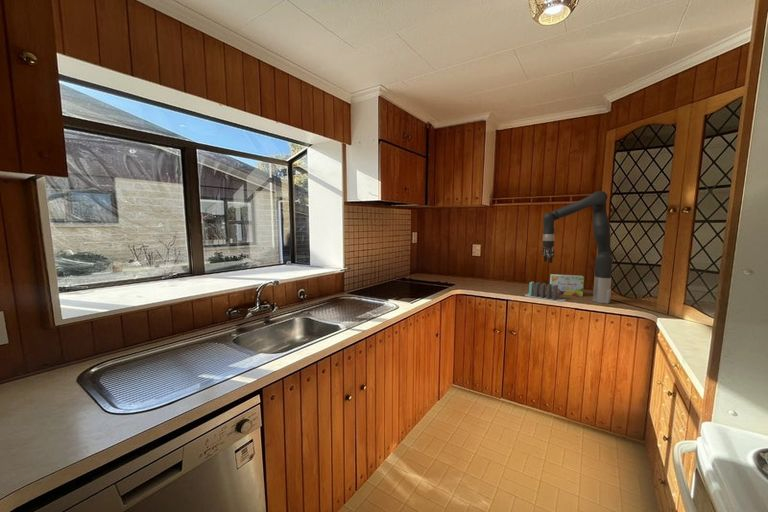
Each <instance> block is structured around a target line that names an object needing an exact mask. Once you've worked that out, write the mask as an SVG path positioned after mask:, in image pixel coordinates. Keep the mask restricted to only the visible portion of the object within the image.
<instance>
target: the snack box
mask: <svg viewBox="0 0 768 512" xmlns="http://www.w3.org/2000/svg"><path fill="white" fill-rule="evenodd" d="M549 275H550V277H549V284H552V291H551V295H553V286H554V285H558V295H559V296H570V297H583V295H584V282H585V276H583V275H576V274H575V275H574V274H557V273H556V274H554V273H550V274H549ZM558 295H557V296H558Z"/></svg>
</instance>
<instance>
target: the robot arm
mask: <svg viewBox="0 0 768 512" xmlns="http://www.w3.org/2000/svg"><path fill="white" fill-rule="evenodd" d="M607 201H608V194H607V193H606V192H605V191H602V190H597V191H594V192H593V193H592V194H590V195H588V196H586V197H584V198H582V199H580V200H578V201H577V200H576V201H575V202H572V203H569V204H567V205H566V204H565V205H564V206H562V207H559V208H558V209H555V210H553V211H550V212H546V213H545V214H544V215H543V219H542V221H543V231H542V232H543V233H542V251H541V253H542V254H541V255H542V256H543V262H548V263H549V264H553V258H554V257H555V248H554V247H555V221H557V220H559V219H562V218H565V217H568V216H571V215H573V214H575V213H577V212H579V211H581V210H583V209H587V208H588V207H592V213H593V215H592V216H593V217H592V231H593V237H594V239H595V243H596V248H597V256H596V257H595V259H594V282H593V283H594V284H593V294H592V302H594V303H597V304H609V303H610V302H611V295H612V288H611V287H612V286H611V285H612V284H611V283H612V266H613V263H614V256H613V253H612V249H611V248H612V247H611V224H610V220H609V216H608V212H607Z"/></svg>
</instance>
